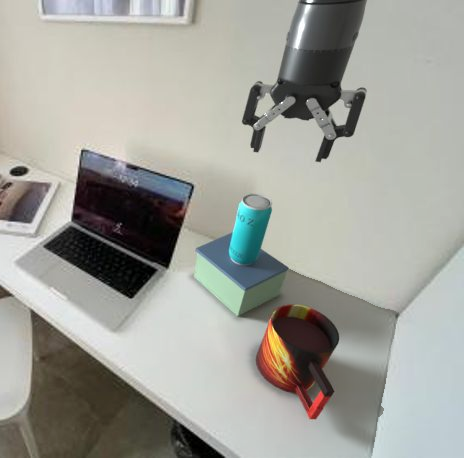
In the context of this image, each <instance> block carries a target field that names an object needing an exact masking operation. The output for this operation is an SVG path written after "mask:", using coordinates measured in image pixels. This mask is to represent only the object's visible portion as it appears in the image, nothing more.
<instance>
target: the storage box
mask: <svg viewBox="0 0 464 458" xmlns="http://www.w3.org/2000/svg"><path fill="white" fill-rule="evenodd" d="M287 274H288V270H287V271H285V272H283V273H281V274H279V275H277V276H275V277H273V278H271V279H269V280H267V281H265V282H263V283H261V284H259V285H257V286H255V287H253V288H251V289H249V290H246V291H244V290H243V289H241V288H240V287H239V286H238V285H237V284H235V283H234V282H233V281H232V280H230V279H229V278H228V277H227V276H226V275H224V274H223V273H222V272H221V271H220V270H218V269H217V268H216V267H215V266H213V265H212V264H211V263H210V262H209V261H207V260H206V259H205V258H204V257H202V256H201V255H200V254H199V253H198V252H197V254H196V261H195V268H194V274H193V277H194V279H196V280H197V281H198V282H199V283H200V284H201V285H202V286H203V287H204V288H205V289H207V290H208V291H209V292H210V293H211V294H212V295H213V296H214V297H216V298H217V300H219V301H220V302H221V303H222V304H223V305H224V306H225V307H227V308H228V309H229V311H231V312H232V313H233V314H234V315H235V316H236V317H240V316H241V315H243V314H245V313H248V312H249V311H251V310H253V309H255V308H257V307H259V306H261V305H263V304H264V303H266V302H269V301H270V300H272V299H274V298H277V297H278V296H279V294H280V292H281V289H282V286H283V283H284V281H285V279H286V276H287Z"/></svg>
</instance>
